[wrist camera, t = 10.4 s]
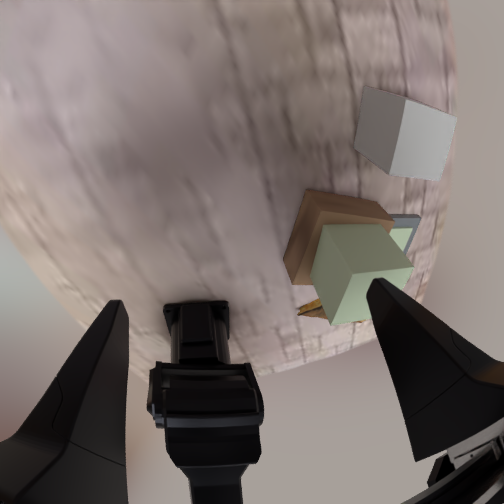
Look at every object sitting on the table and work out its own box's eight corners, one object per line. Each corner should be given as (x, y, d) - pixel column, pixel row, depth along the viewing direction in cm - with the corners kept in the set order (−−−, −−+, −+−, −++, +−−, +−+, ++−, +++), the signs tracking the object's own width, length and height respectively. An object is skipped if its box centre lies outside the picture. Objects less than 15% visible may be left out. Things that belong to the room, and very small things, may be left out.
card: (402, 253, 27) (406, 258, 27) (365, 256, 27) (369, 262, 26) (418, 214, 24) (423, 219, 23) (380, 214, 23) (385, 220, 23)
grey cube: (401, 154, 20) (439, 181, 16) (352, 147, 19) (388, 175, 15) (413, 99, 17) (457, 117, 13) (363, 85, 16) (406, 99, 12)
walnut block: (346, 260, 27) (361, 284, 24) (281, 257, 25) (292, 284, 23) (374, 199, 23) (395, 221, 20) (304, 187, 21) (320, 210, 18)
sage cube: (380, 223, 20) (414, 267, 16) (361, 271, 23) (387, 315, 19) (323, 224, 19) (352, 273, 15) (309, 276, 22) (330, 325, 18)
